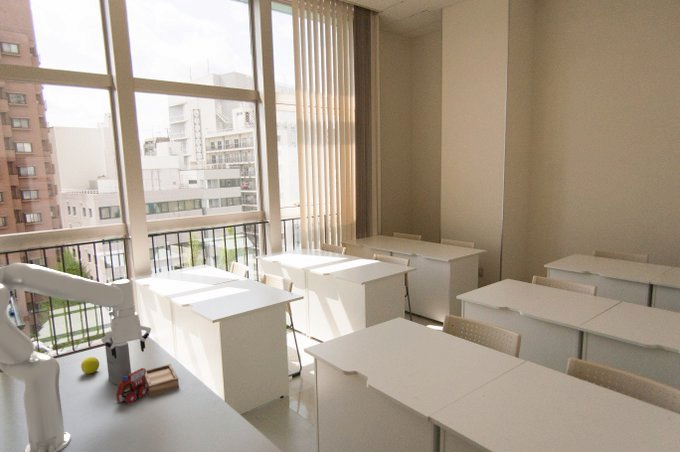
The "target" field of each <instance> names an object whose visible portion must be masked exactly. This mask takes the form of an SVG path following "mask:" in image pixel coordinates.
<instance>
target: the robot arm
mask: <svg viewBox="0 0 680 452" xmlns="http://www.w3.org/2000/svg"><path fill="white" fill-rule="evenodd" d="M14 290H19V291H24V292H27V293H28V292H29V293H33V294H38V295H42V296H45V297H46V296H48V297H51V298H56V299H60V300H65V301H71V302H72V301H73V302H82V303H86V304H91V305H94V306H99V307H105V308H111V310H110V311H108V315H109V316H112V317H111V320H110V321H111V322H110V324H111V325H110V327H111V331H110V332H109V333H107V334H105V335H104V336H103V337H102V338H101V342H102V343H103V344H104V346H105V345H106V346H107V347H109V348H111V352H112V356H114V358H117V356H116V348H115V345H116V344H119V343H124V342H127V343H128V342H131V341H136V340H139V343H140V344H139V345H140V350H141V352H145V350H144V349H146V343H145V342H146V340H147V338H149V336H150V333H151V330H152V328H151V327H148V326H145V325H144V326H143V325H141V320H140V316H139V314H138V312H136V307H135V301H134V300H135V299H134V291H133V290H134V289H133V282H132V281H131V280H130V279H128V278H127V279H118V280H117V279H116V280H114V281H112V282H108V283H104V282H99V281H95V280H93V279H92V280H91V279H89V278H84V277H82V276H78V275H76V274H75V275H74V274H72V273H71V274H70V273H67V272H63V271H59V270H55V269H52V268H48V267H45V266H40V265H38V264H33V263H32V264H31V263H25V262H24V263H23V262H13V263H10V264H7V265H5V266H1V267H0V370H1V371H2V372H3V373H4V374H6V375H7V376H8V377H10V378H12V379H14V380H16V381H20V382H21V383H24V387H25V388H24V393H23V406H24V410H25V411H24V412H25V419H26V426H27V434H28V440H29V441H28V442H29V443H28V444H27V445H26V446H25V448H24V452H60V451H62V450H63V449H64V448H66V447H67V446H68V445H69V443H71V440H72V437H71V434H70V433H69V432H67V431H65V426H64V418H63V417H64V416H63V411H62V410H63V409H62V400H61V394H60V372H61V371H60V370H61V369H60V363H59V362H58V360H57V359H56V358H54V357H53V356H52V355H50V354H46V353H43V352H40V351H36V350H35V349H34V347H35V346H34V343H33V341H32V339H31V338H30V337H29V336H28V335H26V334H25V333H24V332H23V331H22V330H21V329H20V328H18V327H17V326H16V325H15V324H14V323H13V321H11V319H9V317H8V314H7V311H8V306H9V304H10V301H11V292H12V291H14ZM142 331H145V333H144V334H143V332H142ZM111 336H112V340H113V341H112V342H111V343H109V342H108V341H107V339H108V338H110V337H111Z"/></svg>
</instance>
